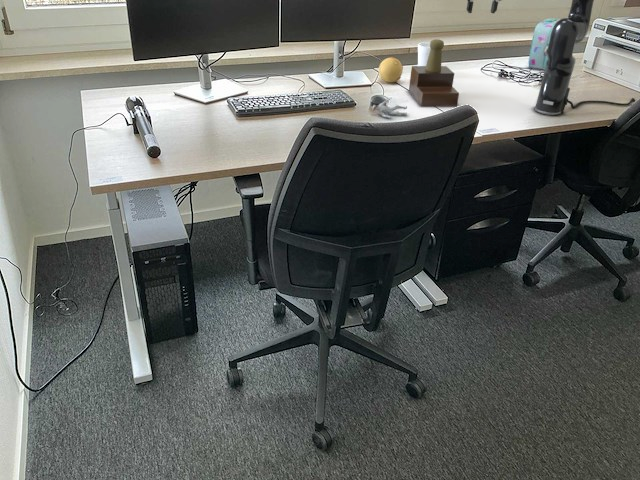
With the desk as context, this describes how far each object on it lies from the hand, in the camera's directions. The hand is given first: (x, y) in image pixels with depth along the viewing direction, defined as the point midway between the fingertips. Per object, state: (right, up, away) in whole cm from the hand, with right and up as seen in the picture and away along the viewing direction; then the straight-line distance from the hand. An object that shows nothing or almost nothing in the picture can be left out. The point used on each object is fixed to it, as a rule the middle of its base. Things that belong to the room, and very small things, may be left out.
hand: (480, 12), depth 192 cm
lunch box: (+49, +2, +66) cm, 82 cm away
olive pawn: (-13, -15, +17) cm, 26 cm away
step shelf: (-13, -25, +19) cm, 34 cm away
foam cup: (-11, -9, +45) cm, 47 cm away
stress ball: (-28, -14, +35) cm, 47 cm away
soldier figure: (-32, -36, +2) cm, 48 cm away
